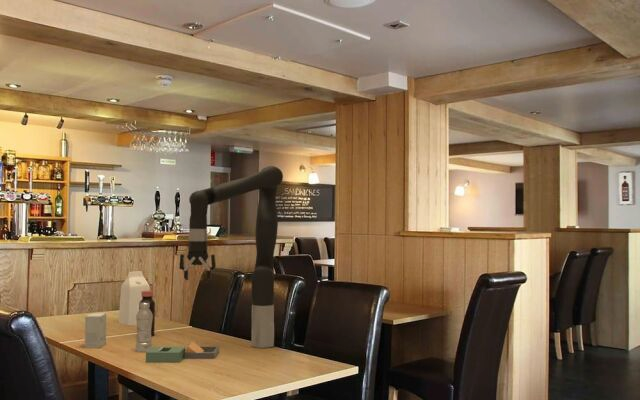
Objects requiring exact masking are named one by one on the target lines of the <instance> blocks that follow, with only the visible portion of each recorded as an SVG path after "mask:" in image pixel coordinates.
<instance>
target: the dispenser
mask: <svg viewBox="0 0 640 400" xmlns="http://www.w3.org/2000/svg"><path fill="white" fill-rule="evenodd" d="M185 350H186V346H163V345H162V346H153V347H152V348H151V349H150V350H148V351H147V352H145V363H153V364H154V363H161V364H163V363H164V364H165V363H181V362H182V360H183V359H184V353H185V352H186V351H185Z"/></svg>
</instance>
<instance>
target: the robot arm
mask: <svg viewBox="0 0 640 400" xmlns="http://www.w3.org/2000/svg"><path fill="white" fill-rule="evenodd" d="M283 180H284V174H283V172H282V169H280V168H279V167H277V166H274V165H270V166H265V167H264V168H262V169H261V170H260V171H259V172H257V173H254V174H251V175H249V176H245V177H242V178H238V179H234V180H233V179H232V180H229V181H225V182H223V183H220V184H216V185H214V186H212V187H208V188H204V189H200V190H196V191H194V192H192V193H191V194H190V196H189V198H188V199H189V200H188V201H189V205H190V216H189V227H188V229H189V230H188V237H187V239H188V250H187V251H188V253H187V254H184V253H183V254H180V257H179V270H183V273H184V274H183V278H184V280H185V281H189V269H190V267H192V266H202V265H203V267H205V269H206V281H210V280H211V279H212V271H213V270H215V269H216V268H217V267H216V266H217V264H216V255H215V254H213V253H212V254H209V253H208V208H209V205H212V204H214V203H220V202H224V201H227V200H231V199H233V198H237V197H239V196H241V195H244V194H247V193H250V192H253V191H257V190H258V202H257V211H256V212H257V213H256V220H255V247H256V255H255V256H256V257H255V265H254V270H253V273H252V274H251V339H250V340H251V347H253V348H259V349H265V348H273V347H274V346H275V322H274V321H275V319H274V318H275V316H274V315H275V294H274V292H275V288H274V287H275V267H274V266H275V265H274V263H275V259H274V254H275V249H276V244H277V238H278V226H279V219H278V218H279V216H278V209H277V201H276V200H277V190H278V187H279V186H280V185H281V183H282V182H283ZM186 259H188V262H187V264H186V265H185V260H186ZM208 259H209V260H210V261H211V266H210V265H209V263H208Z"/></svg>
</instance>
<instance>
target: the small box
mask: <svg viewBox="0 0 640 400" xmlns="http://www.w3.org/2000/svg"><path fill="white" fill-rule="evenodd" d="M106 344H107V312H106V313H105V312H104V313H103V312H102V313H101V312H96V313H95V312H94V313H93V312H92V313H89V314H87V315H85V316H84V348H85V349H101V348H102V347H103V346H105V345H106Z"/></svg>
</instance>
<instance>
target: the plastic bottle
mask: <svg viewBox="0 0 640 400" xmlns="http://www.w3.org/2000/svg"><path fill="white" fill-rule="evenodd" d="M149 307H150V306H149V302H141V303H140V310H139V311H138V313H137V315H136V321H137V325H136V333H137V334H136V342H135V352H137V353H146V352H147V351H148V350H150V349H151V348H152V347H154V346H153V339H152V336H151V326H152V318H153V315H152V312H151V311H150V310H149Z"/></svg>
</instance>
